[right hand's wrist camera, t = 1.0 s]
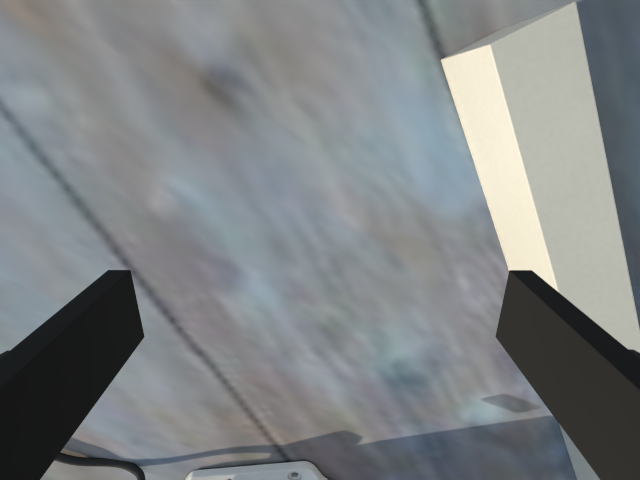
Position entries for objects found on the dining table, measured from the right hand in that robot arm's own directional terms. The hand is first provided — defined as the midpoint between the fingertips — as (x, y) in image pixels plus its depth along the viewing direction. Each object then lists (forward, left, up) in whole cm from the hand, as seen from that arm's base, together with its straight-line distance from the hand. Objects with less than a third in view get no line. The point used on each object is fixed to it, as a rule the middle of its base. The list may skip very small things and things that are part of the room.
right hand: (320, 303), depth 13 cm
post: (+2, +33, -20) cm, 39 cm away
